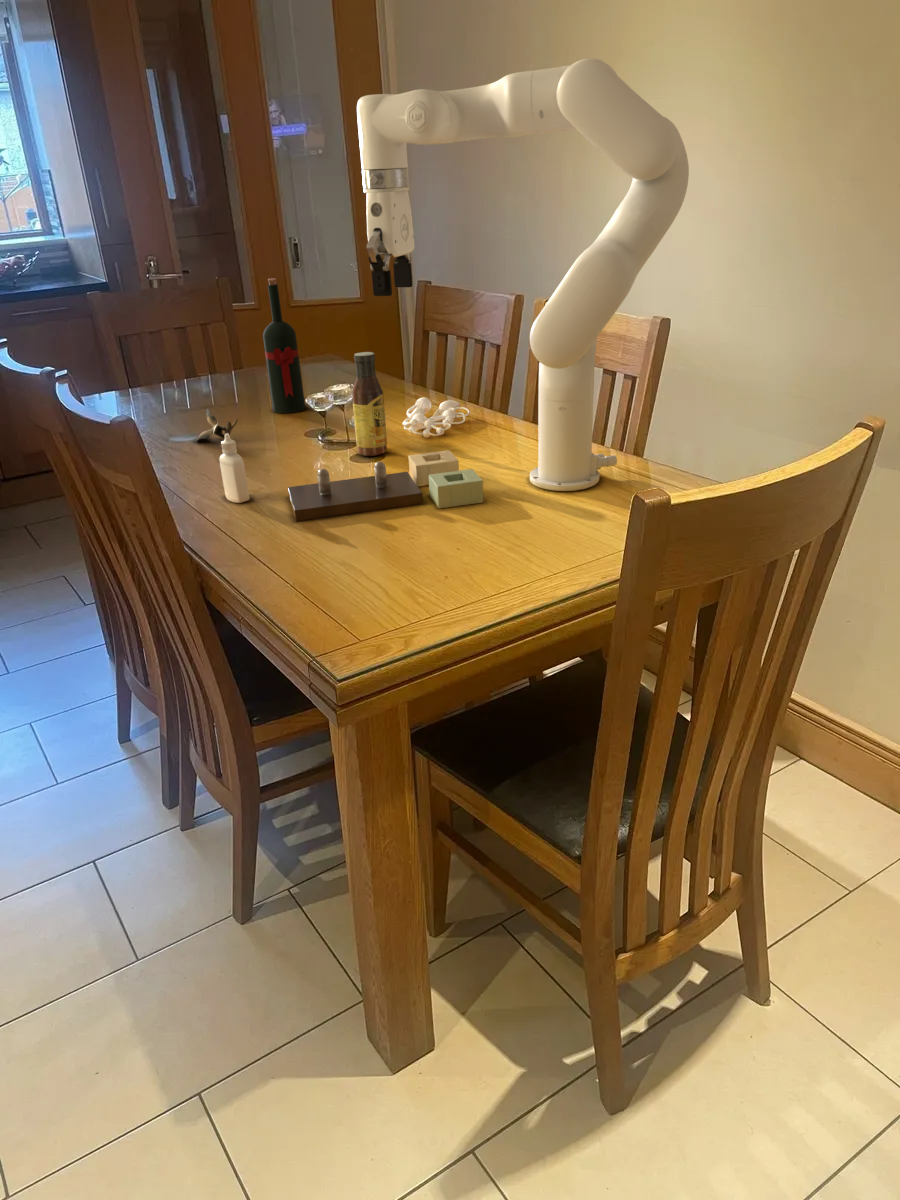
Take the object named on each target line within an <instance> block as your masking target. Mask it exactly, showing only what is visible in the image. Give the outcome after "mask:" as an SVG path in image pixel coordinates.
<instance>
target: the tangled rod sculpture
mask: <svg viewBox="0 0 900 1200" xmlns="http://www.w3.org/2000/svg"><path fill="white" fill-rule="evenodd" d="M458 410H465V411H466V412H467V413H466V414H465V413H464V412H456V411H458ZM430 411H432V401H431V400H430V399H429V398H428V397H423V396H422V397H420V398H418V399H417V400H416V401H415V404H414V405H412V406H411V407H409V408H408V409H407V410H406V417H407V418H405V419H404V420H403V422H402V426H403V429H404V430H405V431H408V432H409V433H410V434H415V435H419V436H423V437H424V438H427V439H428V438H429V437H430V436H433V437H438V436H443V435H444V433H445V431H447V430H449V429H450V428H452V425H462V424H464V423H465V422H466V417H469V416H470V415H471V411H470V409H468V407H465V406H461V403H460V401H457V400H454V399H448V400H444V401H443V402H441V403H440V404H439V405H438V408H437V409H436V410H435V412H434V413H433V415H432V416H430V417H426V415H427V414H429V412H430ZM456 418H457V419H461V418H462V420H461V421H456ZM408 426H409V427H408ZM438 426H439V427H438ZM432 429H434V430H435V432H436V433H432V432H431V431H430V430H432ZM419 430H423V431H422V432H418V431H419Z"/></svg>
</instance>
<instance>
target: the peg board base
mask: <svg viewBox="0 0 900 1200" xmlns="http://www.w3.org/2000/svg"><path fill="white" fill-rule="evenodd" d="M373 468H374V469H373V471H374V475H371V476H364V477H356V478H348V479H339V480H332V481H331V479H330V473H329V471H328V470H327V469H325V468H321V469H319V470H318V471H317V475H316V476H317V482H316V483H309V484H301V485H294V486H288V487H287V492H288V498H289V501H290V505H291V509H292V512H293V516H294V519H295V522H302V521H309V520H317V519H322V518H331V517H339V516H344V515H350V514H351V515H353V514H357V513H359V514H360V513H366V512H374V511H379V510H380V511H382V510H388V509H394V508H396V509H397V508H402V507H409V506H417V505H423V504H424V499H423V492H422V491H421V489H420V487H419V486H417V485H416V483H415V482H414V481H413V479H412V478H411V476H410V473H409V472H408V471H402V472H395V473H387V467H386V463H385V462H383V461H377V462H376V463H375V464H374V466H373Z"/></svg>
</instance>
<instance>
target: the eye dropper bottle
mask: <svg viewBox="0 0 900 1200" xmlns="http://www.w3.org/2000/svg"><path fill="white" fill-rule="evenodd" d="M224 434H225V438H224V439H223V440H222V441H221V442H220V445H221V450H222V454H220V456H219V459H218V460H219V461H218V462H219V468H220V472H221V478H222V485H223V490H224V496H225V498H226V499H227V500H228V501H229V502H232V503H235V504H240V503H245V502H248V501H250V492H249V491H250V490H249V486H248V485H249V484H248V480H247V474H246V468H245V463H244V459H243V457H242V456H241V455H240V454H239V453H238V450H237V443H236V440H235V439H232V438H231V436H230V435H229V434H226V433H224Z"/></svg>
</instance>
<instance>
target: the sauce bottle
mask: <svg viewBox="0 0 900 1200" xmlns="http://www.w3.org/2000/svg"><path fill="white" fill-rule="evenodd" d="M353 359H354V363H355V369H356V373H355V375H356V379H355V382H354V383H353V385H352V389H351V390H352V391H351V393H352V394H351V395H352V411H353V421H354V422H353V423H354V433H355V443H356V447H357V453H358V454H359V455H361V456H364V457H374V456H375V457H376V456H380V455H382V454H385V453H387V448H388V447H387V446H388V435H387V423H386V411H385V409H386V408H385V398H384V397H385V396H384V391H383V389H382V387H381V384H380V382H379V380H378V378H377V372H376V365H375V362H376V355H375V352H372V351H363V352H357V353H354V355H353Z"/></svg>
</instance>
